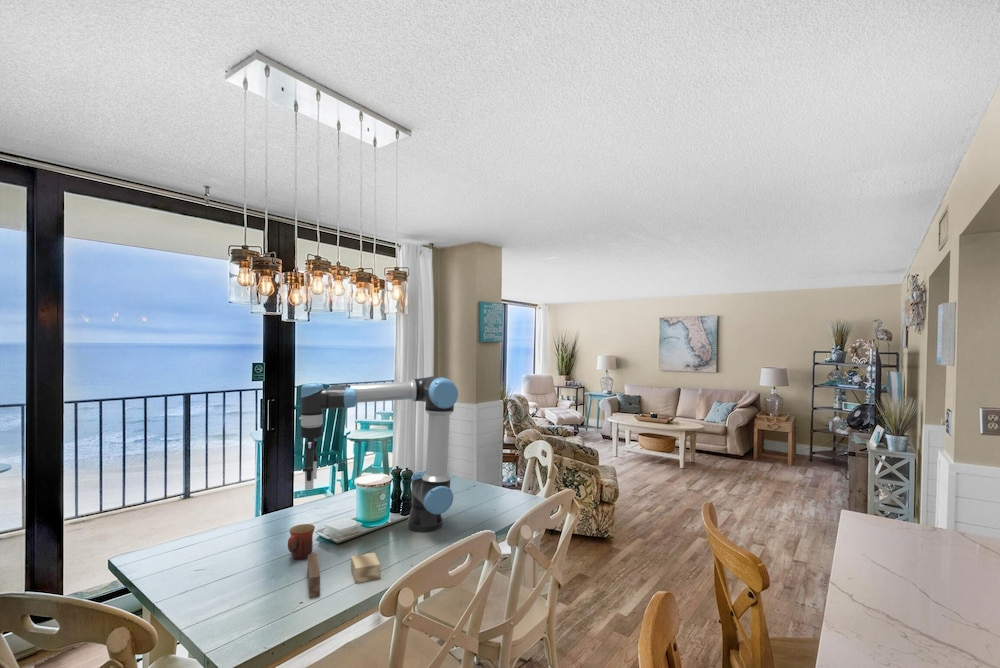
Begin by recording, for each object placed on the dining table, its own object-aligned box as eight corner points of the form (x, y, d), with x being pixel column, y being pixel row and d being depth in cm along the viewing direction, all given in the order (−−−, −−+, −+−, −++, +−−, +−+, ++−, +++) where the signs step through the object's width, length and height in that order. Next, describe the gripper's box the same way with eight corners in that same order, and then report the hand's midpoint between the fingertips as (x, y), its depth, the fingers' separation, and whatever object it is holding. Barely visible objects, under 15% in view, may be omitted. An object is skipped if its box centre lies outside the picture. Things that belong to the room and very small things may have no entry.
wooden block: (316, 570, 166) (317, 553, 166) (319, 595, 149) (320, 576, 149) (307, 572, 165) (307, 554, 165) (309, 597, 148) (309, 578, 148)
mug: (298, 550, 182) (298, 523, 182) (319, 552, 180) (319, 524, 180) (277, 564, 170) (278, 535, 170) (299, 567, 168) (300, 537, 169)
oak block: (374, 566, 170) (374, 552, 170) (379, 579, 161) (380, 564, 161) (351, 570, 166) (351, 556, 167) (355, 584, 157) (355, 568, 157)
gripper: (304, 421, 187) (303, 475, 187) (296, 432, 163) (295, 495, 163) (324, 420, 189) (324, 474, 189) (319, 431, 165) (319, 493, 165)
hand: (310, 484), depth 176 cm, fingers open, 13 cm apart
